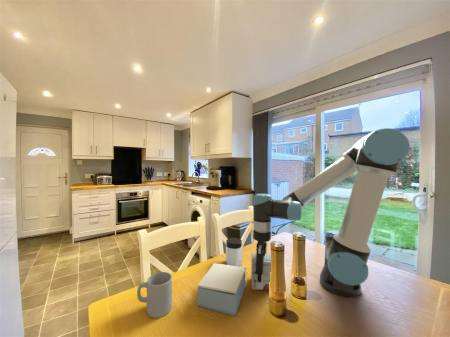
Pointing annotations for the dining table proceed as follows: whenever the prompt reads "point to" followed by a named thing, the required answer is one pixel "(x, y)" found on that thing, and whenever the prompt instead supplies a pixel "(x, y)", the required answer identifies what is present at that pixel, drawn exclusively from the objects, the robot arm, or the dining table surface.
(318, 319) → the dining table surface
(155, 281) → the mug
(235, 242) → the jar
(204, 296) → the blue lidded box
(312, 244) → the dining table surface
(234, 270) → the lid
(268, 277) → the ink box
